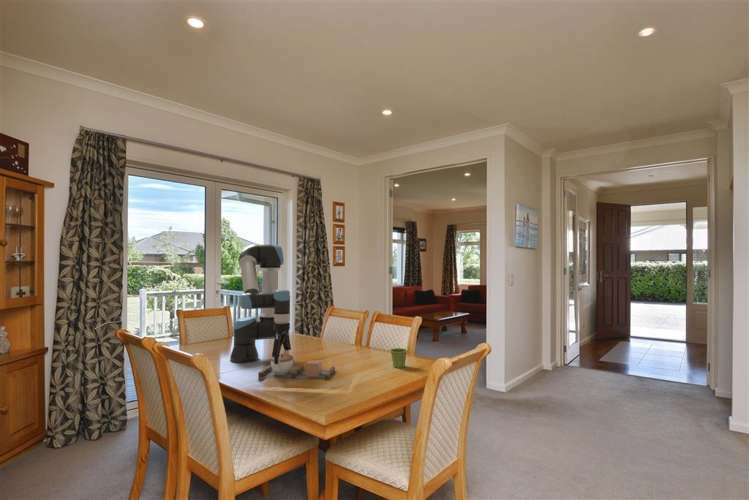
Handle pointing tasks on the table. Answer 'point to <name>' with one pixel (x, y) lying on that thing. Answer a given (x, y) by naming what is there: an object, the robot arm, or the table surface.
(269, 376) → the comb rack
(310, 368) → the terracotta block
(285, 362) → the lidded jar
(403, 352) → the plant pot
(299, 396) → the table surface
